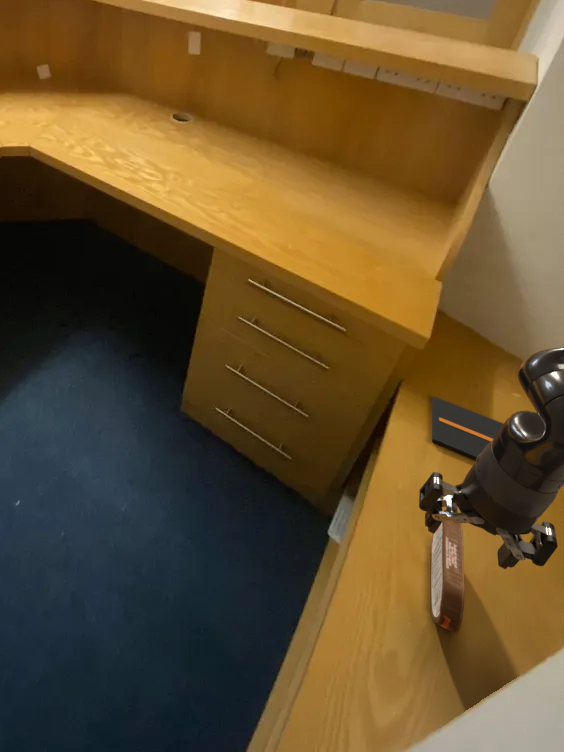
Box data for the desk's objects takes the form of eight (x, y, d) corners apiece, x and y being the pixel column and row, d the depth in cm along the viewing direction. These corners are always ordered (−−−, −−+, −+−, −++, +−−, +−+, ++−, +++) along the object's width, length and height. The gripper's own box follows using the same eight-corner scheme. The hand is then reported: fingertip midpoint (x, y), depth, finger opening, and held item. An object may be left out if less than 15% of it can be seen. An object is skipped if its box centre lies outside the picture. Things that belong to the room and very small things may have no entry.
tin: (450, 645, 71) (471, 621, 67) (425, 630, 73) (444, 606, 68) (449, 537, 83) (466, 511, 78) (427, 526, 84) (443, 500, 80)
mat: (514, 430, 98) (516, 428, 97) (520, 478, 90) (523, 476, 90) (432, 398, 104) (433, 396, 103) (431, 441, 96) (433, 438, 96)
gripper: (446, 480, 63) (407, 541, 72) (589, 545, 57) (530, 603, 66) (445, 429, 69) (409, 491, 77) (576, 483, 63) (522, 544, 71)
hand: (465, 543), depth 71 cm, fingers open, 8 cm apart
